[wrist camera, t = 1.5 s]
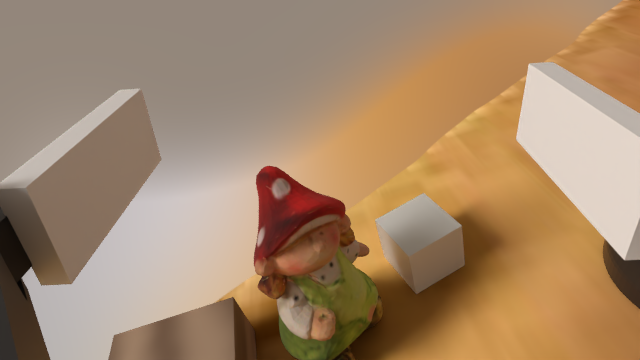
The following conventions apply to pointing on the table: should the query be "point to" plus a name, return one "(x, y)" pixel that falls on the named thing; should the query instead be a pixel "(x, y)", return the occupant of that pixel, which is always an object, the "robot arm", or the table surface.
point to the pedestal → (191, 336)
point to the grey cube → (421, 242)
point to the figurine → (312, 269)
